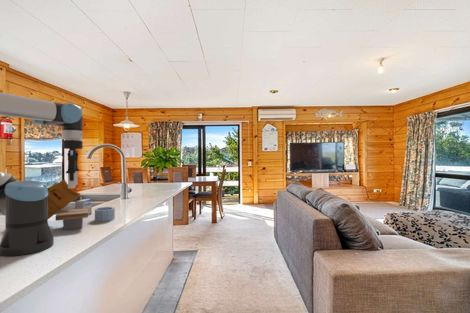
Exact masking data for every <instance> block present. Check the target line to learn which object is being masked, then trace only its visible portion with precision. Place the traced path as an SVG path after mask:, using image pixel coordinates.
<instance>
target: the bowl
mask: <svg viewBox="0 0 470 313" xmlns="http://www.w3.org/2000/svg"><path fill="white" fill-rule="evenodd" d="M115 211H116V209H115V207H113V206H103V207H97V208H95V209H94V222H110V221H113V220H115V219H116V218H115V217H116V216H115Z"/></svg>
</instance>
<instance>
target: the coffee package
mask: <svg viewBox="0 0 470 313" xmlns="http://www.w3.org/2000/svg"><path fill="white" fill-rule="evenodd" d="M47 190H48V220H49V219H50V218H52V217H53V216H54V215H57V213H58V212H59V211H60V210H64V208H65V207H66V206H68V205H69V204H70V203H72V202H73V201H74V200H76V199H77V198H79V197H80V196H81V193H80V192H78V191H76V190H73V188H69V189H68V181H66V179H62V180H60V181H59V182H57V183H54V184H53V185H51V186H48V187H47Z"/></svg>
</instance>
